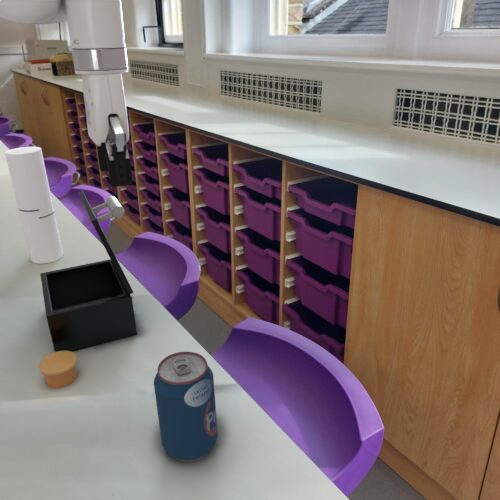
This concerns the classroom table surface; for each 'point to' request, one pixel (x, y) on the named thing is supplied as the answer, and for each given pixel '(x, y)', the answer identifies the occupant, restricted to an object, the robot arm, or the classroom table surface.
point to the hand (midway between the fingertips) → (115, 177)
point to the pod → (59, 368)
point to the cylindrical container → (35, 203)
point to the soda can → (186, 405)
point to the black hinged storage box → (87, 306)
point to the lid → (116, 212)
